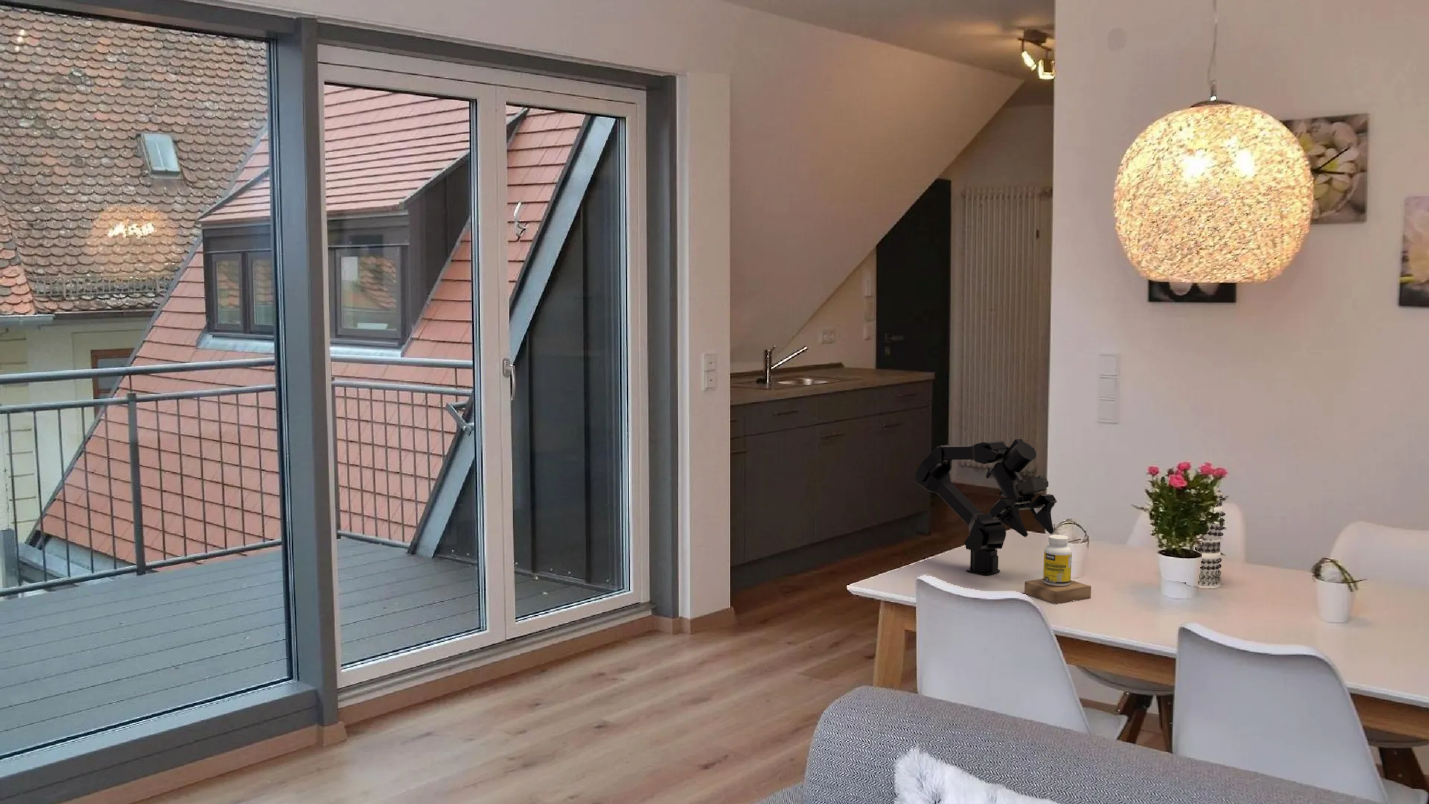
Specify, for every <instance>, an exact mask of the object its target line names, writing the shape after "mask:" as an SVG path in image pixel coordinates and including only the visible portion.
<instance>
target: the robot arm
mask: <svg viewBox="0 0 1429 804" xmlns="http://www.w3.org/2000/svg"><path fill="white" fill-rule="evenodd" d="M1036 458H1037V451H1036V450H1035V448H1034V447H1033V446H1032V445H1030V444H1029V443H1027V442H1024V440H1023V439H1022V438H1017V439H1016V438H1015V439H1014V440H1013V441H1012V444H1011V445H1010V446H1008V445H1006V444H1005V442H1004V441H1003V440H993V441H992V440H991V441H982V442H978V443H974V444H973V445H950V444H949V445H948V444H945V445H937V446H936V447H934V448H933V450H932V452H931V453H930V454H929V455H927V457H926V458H924V459H923V460H922V461H921V462H920V464H919V466H918V467H917V469H916V471H915V475H914V477H915V480H916V483H917V484H918V485H919V486H921V487H922V488H924V489H925V490H927V491H929V492H931V493H935V494H937V495H938V496H939V497H940V498H941V499H942V500H943V502H945V503H946V505H948V506H949V508H950V509H952V511H954V513H955V514H956V515H957V516H958V517H960V519H962V521H963V522H964V523H966V525H967V526H968V532H969V533H968V534H969V536H967V538H966V539H965V540H964V545H965V548H966V550H969V551H970V555H969V556H970V557H969V559H970V560H969V561H970V563H969V564H970V565H969V568H967V569H966V572H967V573H968V572H969V573H973V574H976V575H977V574H978V575H981V576H990V575H993V574H996V573H997V574H998V573H999V572H1000V573H1001V569H999V555H998V550H999V549H1003V546H1004V542H1005V540H1006V537H1007V530H1006V526H1008V527H1009V528H1010V529H1011V530H1013V531H1015V532H1016V533H1017V534H1019V535H1021V536H1022V537H1024V538H1027V537H1028V536H1029V534H1028V531H1027V528H1026V527H1025V524H1024V522H1023V520H1022V518H1021V516H1020V511H1021V510H1022V511H1023V510H1024V511H1025V510H1029V511H1030V513H1032V514H1033V518H1034V519H1035V520H1036V521H1037V522H1038V524H1040V526H1042V528H1043V529H1044V530H1045V531H1046V532H1047V533H1048V534H1049V535H1053V533H1054V531H1055V530H1054V525H1053V520H1052V514H1051V513H1052V509H1053V508H1054V506H1055V505H1056V503H1057V501H1058V500H1057V499H1056V497H1055V495H1054V494H1051V493H1046V494H1039V495H1038V496H1037V493H1039V492H1045V491H1047V488H1048V487H1049V486H1050V485H1049V481H1048V478H1046V476H1045V475H1043V474H1042V475H1038V476H1035V477H1034V478H1029V479H1025V478H1024V479H1021V477H1020V475H1019V474H1018V473H1023V471H1025V469H1026V468H1027V467H1028V466H1029V465H1030V464H1031V463H1032V462H1033V461H1034V460H1035V459H1036ZM956 460H962V461H963V460H969V461H973V462H974V463H978V464H981V465H989V464H994V465H993V466H992V467H987V472H986V475H985V478H986V479H994V482H996V483H995V484H997V486H998V488H999V489H1000V491H999V492H998V495H999V497H1001V498H999V499H998V500H997V501H996V502H995V503H994V504H993V505H992V506H991V507H990V509H989V512H987V513H983V512H981V511H980V509H979V508H978V507H977V506H976V505H974V503H972V501H970V500H969V498H967V497H966V496H965V495H964V493H962V492H961V491H960V490H959V489H958V487H956V485H955V484H954V483H952V478H951V473H950V472H951V470H952V467H953V466H952V465H953V461H956ZM940 462H941V463H940ZM1036 496H1037V497H1036ZM1035 497H1036V498H1035ZM1034 498H1035V499H1034ZM1033 499H1034V500H1033ZM1005 525H1006V526H1005Z"/></svg>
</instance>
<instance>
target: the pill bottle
mask: <svg viewBox="0 0 1429 804" xmlns="http://www.w3.org/2000/svg"><path fill="white" fill-rule="evenodd" d="M1069 541H1070V539H1069V536H1067V535H1064V534H1063V535H1062V534H1049V535H1048V543H1049V544H1048V545H1047V546H1045V547H1044V551H1043V553H1044V554H1043V576H1042V577H1043V578H1042V579H1043V581H1044V583H1046V584H1048V585H1052V586H1067V585H1069V584H1070V582H1071V580H1072V562H1073V561H1072V559H1073V558H1072V556H1073V551H1072V548H1070V547H1069V546H1068V544H1069Z"/></svg>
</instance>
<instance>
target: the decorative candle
mask: <svg viewBox="0 0 1429 804" xmlns="http://www.w3.org/2000/svg"><path fill="white" fill-rule="evenodd" d="M1216 487H1217V489H1216V494H1217V497H1218V498H1223V497H1224V495H1225V493H1224V492H1223V491H1221V489H1220V488H1219V487H1218V486H1216ZM1223 510H1224V505H1223V499H1222V500H1220V501H1219V502H1218V503H1217V505H1216V507H1215V508H1214V511H1216V512H1217V513H1220V519H1221V523H1224V522H1225V521H1226V520H1225V518H1224V517H1225V516H1226V513H1225V512H1224V511H1223ZM1224 530H1225V527H1224V526H1223V525H1222V526H1220V525H1219V524H1211V527H1210V529H1209V532H1208V535H1207V536H1205V537H1204V539H1202V545H1198V546H1197V547H1195V550H1196V551H1198V552H1200V553H1202V561H1201V567H1200V574H1199V581H1198V586H1199V588H1198V589H1209V588H1210V589H1217V587H1218V588H1220V587H1221V583H1220V582H1221V580H1222V577H1221V576H1222V571H1221V570H1220V569H1222V564H1221V562H1222V561H1223V560H1222V558H1221V557H1222V551H1221V542H1222V541H1223V540H1224V539H1223V536H1224V533H1223V532H1222V531H1224ZM1219 586H1220V587H1219Z"/></svg>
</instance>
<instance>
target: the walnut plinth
mask: <svg viewBox="0 0 1429 804" xmlns="http://www.w3.org/2000/svg"><path fill="white" fill-rule="evenodd" d="M1023 586H1024V588H1023V589H1024V594H1025V595H1028V596H1031V597H1034V598H1037V599H1039V600H1043V601H1046V602H1049V603H1051V604H1052V603H1053V604H1055V603H1056V604H1055V605H1059V604H1058V603H1060V604H1067V603H1071V602H1070V601H1072V602H1074V601H1073V600H1078V601H1082V600H1083V601H1085V600H1088V599H1089V598H1090V599H1091V597H1092V585H1089V584H1085V583H1082V582H1079V581H1075V580H1072V579H1071V582H1070V584H1069V585H1067V586H1052V585H1048V584H1046V583H1044V581H1043V578H1039V579H1038V578H1037V579H1032V580H1026V581H1024V585H1023Z"/></svg>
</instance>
